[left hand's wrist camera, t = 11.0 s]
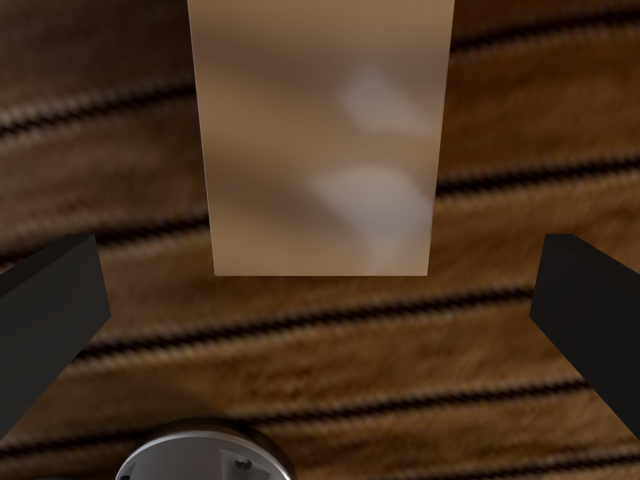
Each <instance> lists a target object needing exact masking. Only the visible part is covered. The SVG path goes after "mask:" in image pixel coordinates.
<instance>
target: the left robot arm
mask: <svg viewBox="0 0 640 480" xmlns="http://www.w3.org/2000/svg"><path fill="white" fill-rule="evenodd" d="M110 317H111V313H110V308H109V304H108V299H107V294H106V289H105V284H104V279H103V274H102V269H101V265H100V260H99V255H98V250H97V245H96V240H95V235H94V234H67V235H65V236H63V237H62V238H60V239H58V240H57V241H55V242H53V243H52V244H50V245H49V246H47V247H45V248H44V249H42V250H40V251H39V252H37V253H35V254H34V255H32V256H30V257H29V258H27V259H25V260H24V261H22V262H20V263H19V264H17V265H15V266H14V267H12V268H10V269H9V270H7V271H5V272H4V273H2V274H0V441H1V439H2V438H3V437H4V436H5V435H6V434H7V433H8V432H9V431H10V429H11V428H12V427H13V426H14V425H15V424H16V423H17V422H18V420H19V419H20V418H21V417H22V416H23V415H24V414H25V413H26V411H27V410H28V409H29V408H30V407H31V406H32V405H33V404H34V402H35V401H36V400H37V399H38V398H39V397H40V396H41V395H42V393H43V392H44V391H45V390H46V389H47V388H48V387H49V386H50V384H51V383H52V382H53V381H54V380H55V379H56V378H57V377H58V375H59V374H60V373H61V372H62V371H63V370H64V369H65V368H66V366H67V365H68V364H69V363H70V362H71V361H72V360H73V359H74V357H75V356H76V355H77V354H78V353H79V352H80V351H81V350H82V348H83V347H84V346H85V345H86V344H87V343H88V342H89V341H90V339H91V338H92V337H93V336H94V335H95V334H96V333H97V332H98V330H99V329H100V328H101V327H102V326H103V325H104V324H105V323H106V322H107V320H108V319H109V318H110ZM529 317H530V318H531V319H532V320H533V322H534V323H535V324H536V325H537V326H538V327H539V328H540V329H541V330H542V332H543V333H544V334H545V335H546V336H547V337H548V338H549V339H550V341H551V342H552V343H553V344H554V345H555V346H556V347H557V348H558V350H559V351H560V352H561V353H562V354H563V355H564V356H565V357H566V359H567V360H568V361H569V362H570V363H571V364H572V365H573V366H574V368H575V369H576V370H577V371H578V372H579V373H580V374H581V375H582V377H583V378H584V379H585V380H586V381H587V382H588V383H589V384H590V386H591V387H592V388H593V389H594V390H595V391H596V392H597V393H598V395H599V396H600V397H601V398H602V399H603V400H604V401H605V402H606V404H607V405H608V406H609V407H610V408H611V409H612V410H613V411H614V413H615V414H616V415H617V416H618V417H619V418H620V419H621V420H622V422H623V423H624V424H625V425H626V426H627V427H628V428H629V429H630V431H631V432H632V433H633V434H634V435H635V436H636V437H637V438H638V440H639V441H640V274H638V273H636V272H635V271H633V270H631V269H630V268H628V267H626V266H625V265H623V264H621V263H620V262H618V261H616V260H615V259H613V258H611V257H610V256H608V255H606V254H605V253H603V252H601V251H600V250H598V249H596V248H595V247H593V246H591V245H590V244H588V243H587V242H585V241H583V240H582V239H580V238H578V237H577V236H575V235H573V234H546V235H545V240H544V245H543V250H542V255H541V260H540V265H539V269H538V274H537V279H536V284H535V289H534V294H533V299H532V304H531V308H530V313H529ZM33 480H77V479H73V478H69V477H62V476H55V477H43V478H37V479H33ZM115 480H297V477H296V474H295V471H294V468H293V466H292V464H291V463H290V461H289V459H288V458H287V456H286V455H285V454H284V453H283V452H282V450H281V449H279V448H278V447H277V446H276V445H275V444H274V443H273V442H271V441H270V440H269V439H267V438H266V437H264V436H263V435H261V434H259V433H257V432H256V431H254V430H251V429H249V428H247V427H244V426H241V425H238V424H235V423H231V422H227V421H222V420H214V419H189V420H182V421H177V422H173V423H169V424H166V425H163V426H161V427H158V428H156V429H154V430H153V431H151V432H149V433H148V434H146V435H145V436H143V437H142V438H141V439H140V440H139V441H138V442H137V443H136V444H135V445H134V446H133V447H132V449H131V450H130V451H129V453H128V455H127V457H126V459H125V461H124V463H123V465H122V466H121V468H120V470H119V472H118V474H117V477H116V479H115Z"/></svg>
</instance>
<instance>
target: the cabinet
mask: <svg viewBox="0 0 640 480" xmlns="http://www.w3.org/2000/svg"><path fill="white" fill-rule="evenodd" d="M187 3H188V13H189V23H190V33H191V43H192V52H193V62H194V72H195V82H196V92H197V102H198V112H199V122H200V132H201V142H202V152H203V161H204V171H205V181H206V191H207V201H208V211H209V221H210V231H211V241H212V251H213V261H214V270H215V275H216V276H426V275H427V269H428V259H429V249H430V239H431V229H432V220H433V210H434V200H435V190H436V180H437V170H438V160H439V150H440V140H441V130H442V120H443V110H444V100H445V90H446V80H447V70H448V60H449V50H450V40H451V30H452V20H453V10H454V0H187Z"/></svg>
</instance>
